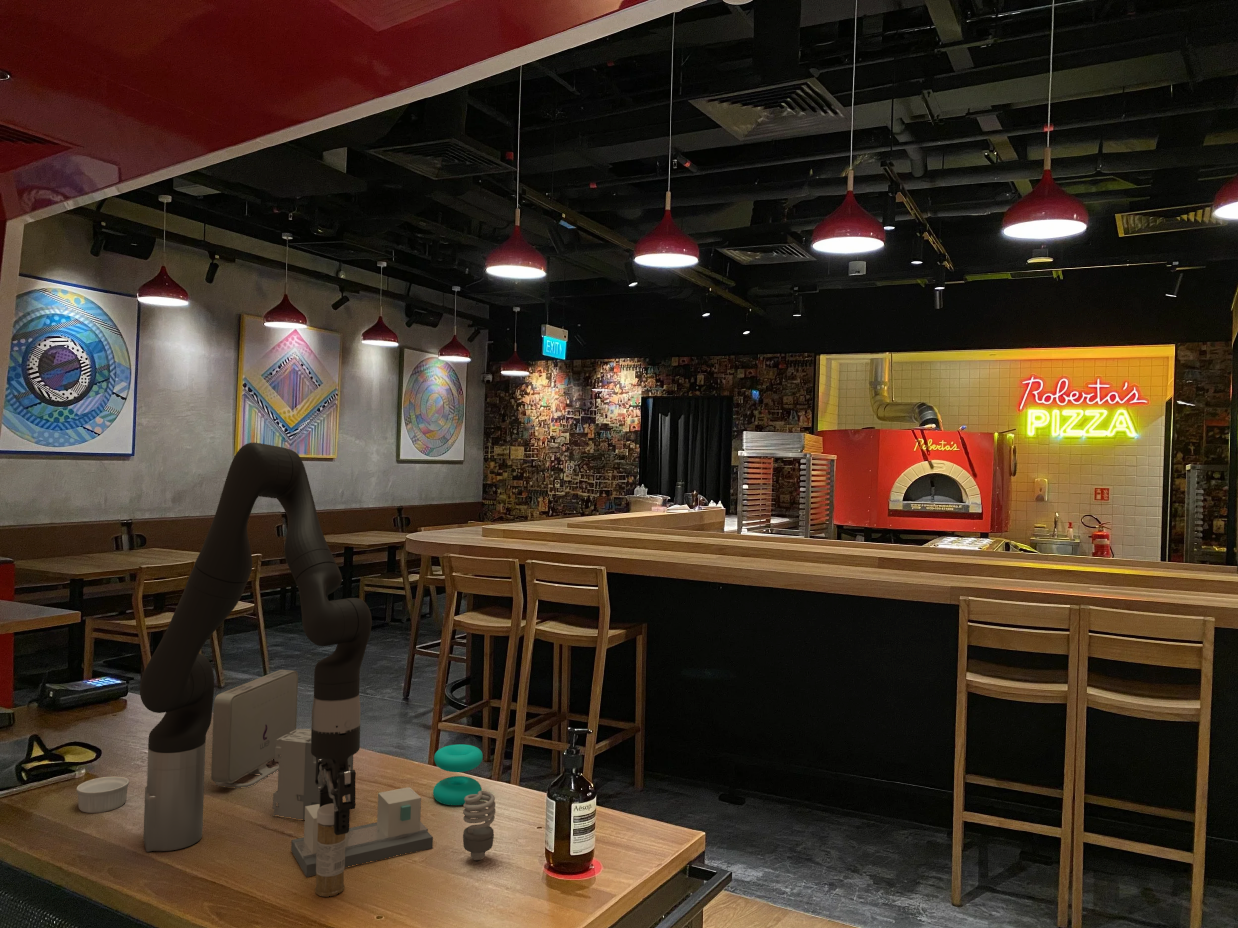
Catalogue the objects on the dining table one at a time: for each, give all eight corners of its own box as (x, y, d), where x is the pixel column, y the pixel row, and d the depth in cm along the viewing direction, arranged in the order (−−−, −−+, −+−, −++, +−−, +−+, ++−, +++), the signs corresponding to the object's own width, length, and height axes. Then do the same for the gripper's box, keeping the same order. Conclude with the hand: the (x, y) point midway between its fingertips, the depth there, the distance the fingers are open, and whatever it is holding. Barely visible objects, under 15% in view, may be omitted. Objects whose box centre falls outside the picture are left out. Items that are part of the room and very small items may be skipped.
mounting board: (306, 876, 141) (306, 864, 141) (291, 850, 150) (291, 839, 150) (432, 847, 153) (432, 836, 153) (411, 825, 163) (411, 815, 163)
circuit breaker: (339, 825, 162) (342, 746, 162) (272, 816, 165) (275, 739, 165) (359, 809, 169) (361, 734, 169) (294, 802, 172) (297, 727, 172)
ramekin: (66, 808, 166) (66, 786, 166) (111, 793, 173) (112, 772, 173) (93, 818, 161) (93, 795, 161) (138, 802, 169) (139, 781, 169)
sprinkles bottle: (335, 881, 140) (338, 799, 140) (349, 891, 137) (352, 807, 137) (309, 890, 137) (312, 807, 137) (322, 901, 134) (326, 815, 134)
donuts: (424, 751, 175) (456, 739, 184) (422, 800, 175) (455, 785, 184) (461, 761, 170) (492, 748, 179) (459, 811, 170) (491, 795, 179)
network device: (236, 795, 174) (240, 698, 174) (198, 791, 176) (202, 694, 176) (304, 755, 199) (307, 669, 200) (270, 751, 201) (273, 667, 201)
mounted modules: (313, 855, 143) (314, 820, 144) (303, 840, 149) (305, 806, 149) (421, 832, 154) (422, 799, 154) (408, 818, 160) (409, 786, 160)
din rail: (303, 858, 143) (303, 855, 143) (294, 845, 148) (294, 842, 148) (427, 831, 156) (427, 828, 156) (416, 819, 161) (416, 817, 161)
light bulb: (479, 850, 153) (481, 783, 153) (500, 860, 150) (502, 791, 150) (454, 860, 149) (456, 792, 149) (476, 871, 145) (478, 800, 145)
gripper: (301, 715, 141) (298, 813, 141) (324, 738, 129) (322, 845, 129) (346, 709, 145) (344, 804, 145) (373, 731, 133) (370, 834, 133)
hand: (333, 823), depth 137 cm, fingers open, 8 cm apart
